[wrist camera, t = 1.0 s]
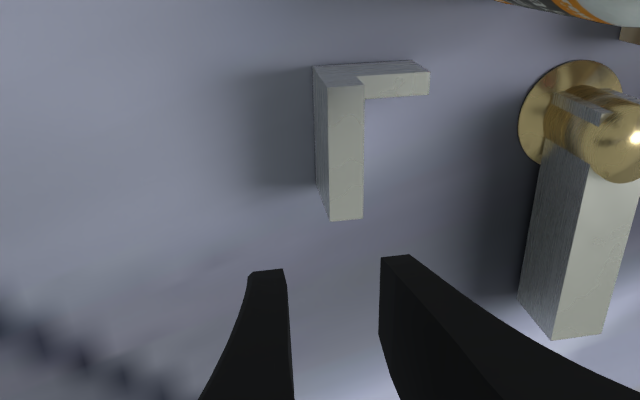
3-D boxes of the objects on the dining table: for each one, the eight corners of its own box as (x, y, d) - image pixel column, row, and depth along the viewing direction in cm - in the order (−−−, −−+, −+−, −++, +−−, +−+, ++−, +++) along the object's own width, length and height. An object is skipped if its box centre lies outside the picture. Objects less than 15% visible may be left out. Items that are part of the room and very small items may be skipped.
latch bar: (549, 87, 21) (605, 111, 18) (614, 82, 21) (679, 106, 18) (512, 299, 25) (551, 347, 22) (565, 292, 26) (611, 339, 23)
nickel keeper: (412, 60, 20) (443, 79, 17) (405, 176, 22) (432, 211, 19) (312, 66, 19) (327, 87, 16) (316, 184, 21) (329, 221, 18)
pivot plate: (632, 56, 21) (634, 57, 21) (607, 162, 23) (609, 162, 23) (526, 63, 20) (527, 63, 20) (510, 171, 22) (511, 172, 22)
